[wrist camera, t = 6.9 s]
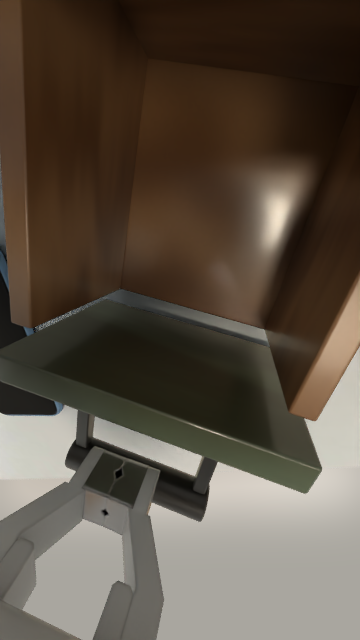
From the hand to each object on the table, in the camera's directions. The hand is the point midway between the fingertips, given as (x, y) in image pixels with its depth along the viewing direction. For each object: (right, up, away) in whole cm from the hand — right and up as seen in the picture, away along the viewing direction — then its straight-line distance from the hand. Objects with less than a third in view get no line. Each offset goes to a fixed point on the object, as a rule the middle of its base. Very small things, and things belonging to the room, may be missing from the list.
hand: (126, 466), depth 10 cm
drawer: (+3, +8, +4) cm, 10 cm away
